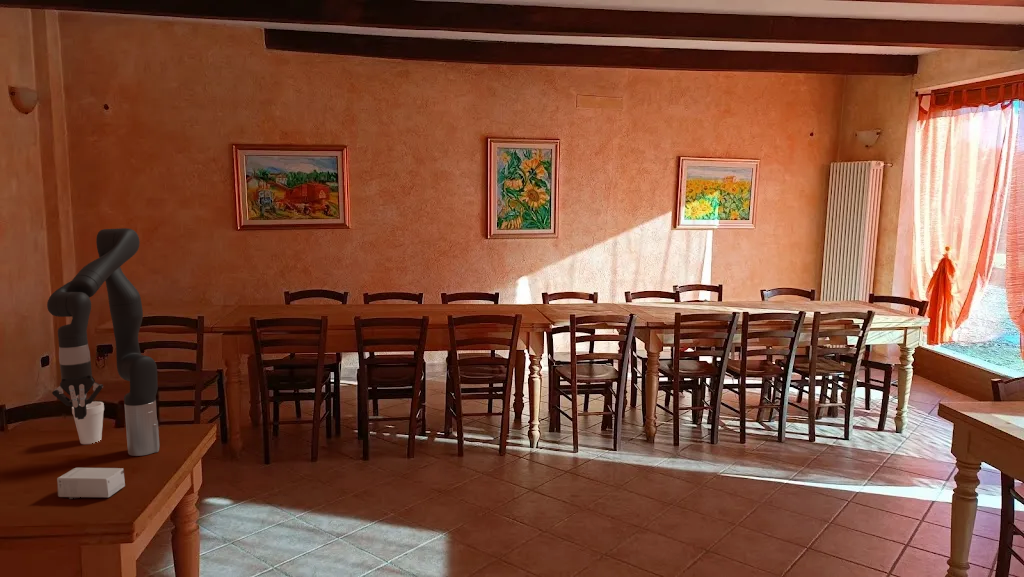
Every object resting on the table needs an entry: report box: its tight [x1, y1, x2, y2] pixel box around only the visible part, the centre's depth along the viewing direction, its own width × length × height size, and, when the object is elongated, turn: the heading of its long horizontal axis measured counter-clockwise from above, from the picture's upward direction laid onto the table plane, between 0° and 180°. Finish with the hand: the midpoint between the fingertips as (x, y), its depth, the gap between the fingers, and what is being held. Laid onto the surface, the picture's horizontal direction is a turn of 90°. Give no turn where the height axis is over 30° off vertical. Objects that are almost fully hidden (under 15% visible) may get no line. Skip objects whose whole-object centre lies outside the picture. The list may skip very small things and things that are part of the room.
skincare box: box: [56, 467, 126, 498], centre depth 196 cm, size 8×6×15 cm
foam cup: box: [71, 401, 105, 445], centre depth 239 cm, size 10×9×13 cm
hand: (81, 418), depth 199 cm, fingers closed
